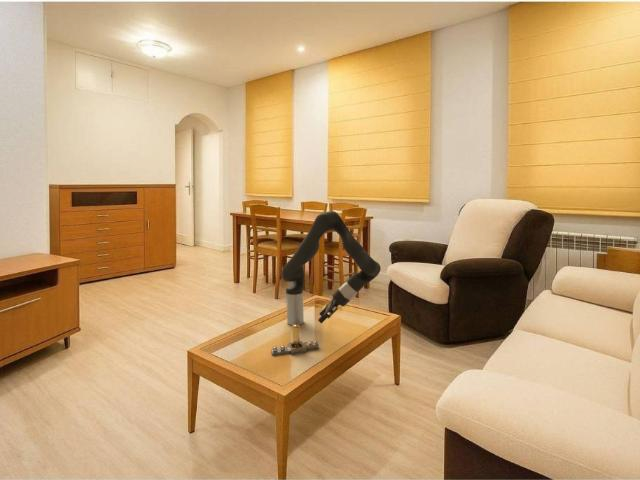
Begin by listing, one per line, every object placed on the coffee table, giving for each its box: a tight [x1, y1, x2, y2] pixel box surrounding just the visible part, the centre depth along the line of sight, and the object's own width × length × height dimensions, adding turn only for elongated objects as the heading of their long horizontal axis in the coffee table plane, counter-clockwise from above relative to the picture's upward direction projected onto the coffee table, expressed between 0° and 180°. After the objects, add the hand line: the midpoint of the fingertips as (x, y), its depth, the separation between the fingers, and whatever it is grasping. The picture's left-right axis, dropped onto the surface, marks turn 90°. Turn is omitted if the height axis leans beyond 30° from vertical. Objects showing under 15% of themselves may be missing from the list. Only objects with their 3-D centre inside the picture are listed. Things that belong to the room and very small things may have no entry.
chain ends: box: [270, 340, 320, 357], centre depth 177 cm, size 8×22×3 cm, turn 107°
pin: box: [291, 324, 301, 348], centre depth 177 cm, size 3×3×12 cm
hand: (320, 318), depth 175 cm, fingers open, 8 cm apart
